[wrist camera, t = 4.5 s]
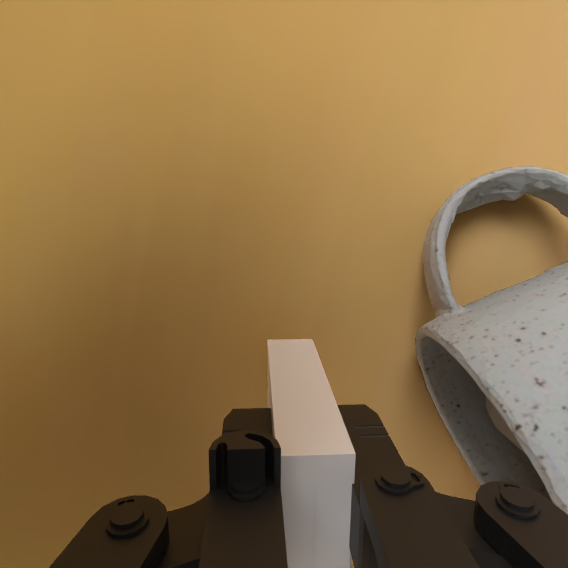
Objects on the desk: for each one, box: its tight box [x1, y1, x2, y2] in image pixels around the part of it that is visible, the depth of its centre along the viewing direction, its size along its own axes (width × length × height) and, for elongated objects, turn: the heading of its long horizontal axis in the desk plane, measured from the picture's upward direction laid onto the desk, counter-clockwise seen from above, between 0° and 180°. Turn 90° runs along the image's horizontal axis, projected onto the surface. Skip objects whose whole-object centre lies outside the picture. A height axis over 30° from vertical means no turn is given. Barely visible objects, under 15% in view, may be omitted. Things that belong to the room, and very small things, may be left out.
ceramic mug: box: [415, 166, 568, 514], centre depth 13 cm, size 11×8×8 cm
